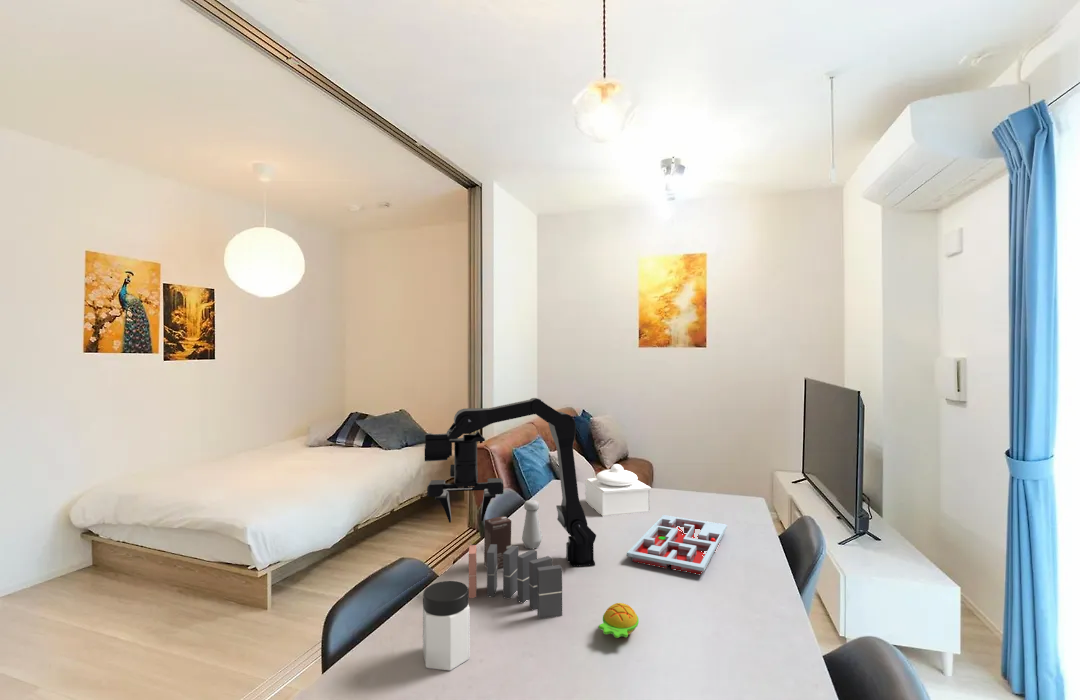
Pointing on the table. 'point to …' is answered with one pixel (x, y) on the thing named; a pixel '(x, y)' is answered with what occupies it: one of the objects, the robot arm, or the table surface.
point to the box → (497, 537)
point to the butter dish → (617, 492)
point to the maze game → (678, 544)
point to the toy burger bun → (619, 620)
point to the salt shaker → (531, 525)
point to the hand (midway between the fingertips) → (466, 521)
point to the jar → (446, 625)
